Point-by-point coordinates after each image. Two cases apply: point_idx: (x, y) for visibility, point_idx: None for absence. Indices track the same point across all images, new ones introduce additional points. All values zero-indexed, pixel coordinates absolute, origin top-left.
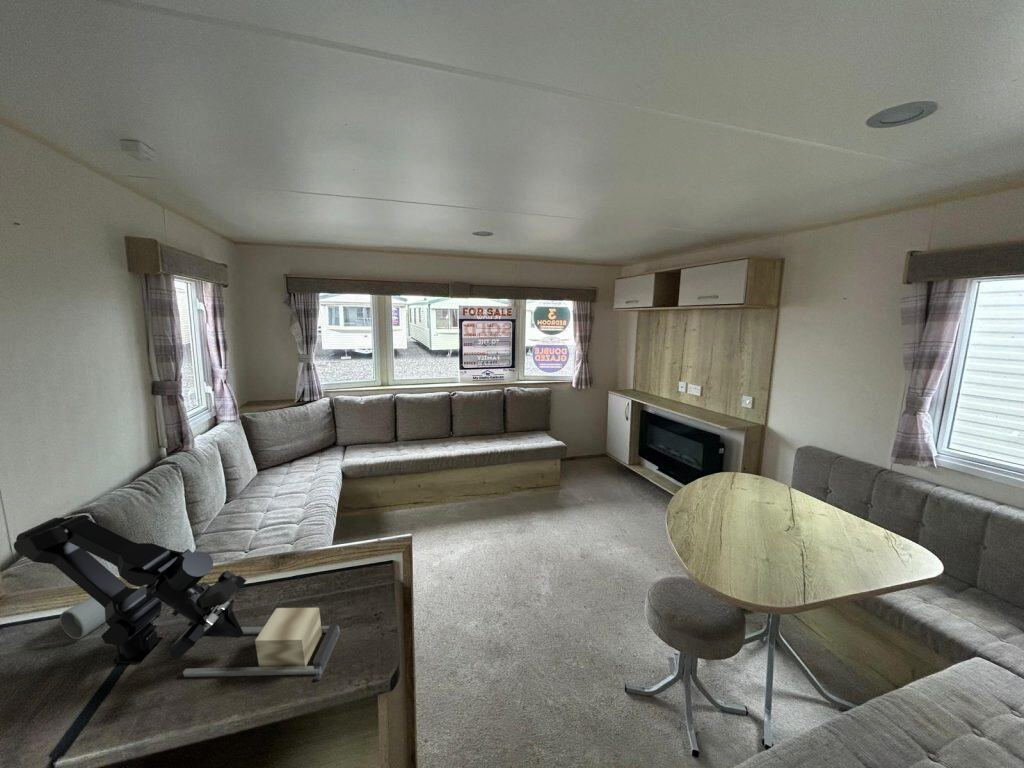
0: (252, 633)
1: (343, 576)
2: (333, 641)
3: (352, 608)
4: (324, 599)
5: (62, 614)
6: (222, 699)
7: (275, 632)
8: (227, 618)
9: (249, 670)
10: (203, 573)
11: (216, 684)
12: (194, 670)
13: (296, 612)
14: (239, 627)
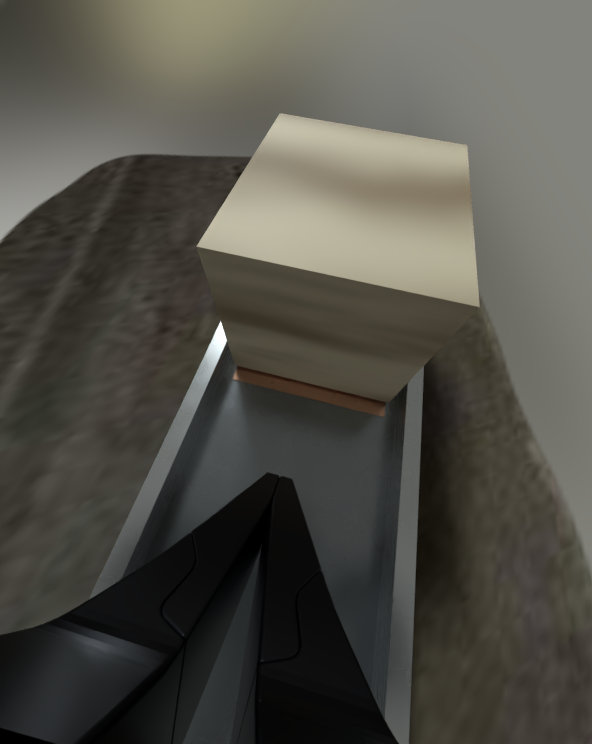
0: (173, 485)
1: (12, 232)
2: None
3: (189, 211)
4: (99, 272)
5: None
6: (477, 523)
7: (417, 225)
8: (182, 661)
9: (421, 423)
10: None
11: None
12: None
13: (282, 167)
14: (251, 495)
